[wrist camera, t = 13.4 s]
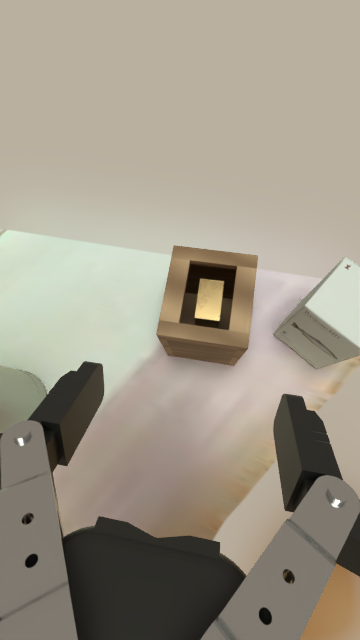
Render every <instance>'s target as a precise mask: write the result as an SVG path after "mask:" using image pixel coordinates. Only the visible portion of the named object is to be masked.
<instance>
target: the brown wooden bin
mask: <svg viewBox="0 0 360 640" xmlns="http://www.w3.org/2000/svg"><path fill="white" fill-rule="evenodd" d="M257 260H258V256H257V255H249V254H240V253H232V252H224V251H215V250H207V249H199V248H190V247H182V246H174V248H173V252H172V257H171V262H170V268H169V273H168V278H167V283H166V288H165V293H164V298H163V303H162V308H161V313H160V318H159V324H158V329H157V334H156V335H157V336H158V338H159V340H160V342H161V343H162V345H163V347H164V349H165V350H166V352H167V354H168V355H170V356H177V357H183V358H189V359H195V360H202V361H208V362H214V363H220V364H227V365H233V366H234V365H235V364H236V362H237V361H238V360H239V359H240V357H241V356H242V355H243V354H244V353H245V351H246V350H247V349H248V344H249V334H250V325H251V316H252V307H253V297H254V288H255V279H256V270H257ZM200 279H209V280H218V281H224V286H223V295H222V306H221V314H220V321H219V327H218V329H217V328H210V327H203V326H196V325H195V312H196V304H197V297H198V290H199V283H200Z"/></svg>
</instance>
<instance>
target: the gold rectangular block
mask: <svg viewBox="0 0 360 640" xmlns="http://www.w3.org/2000/svg"><path fill="white" fill-rule="evenodd" d="M223 286H224V281H218V280H209V279H200V283H199V290H198V297H197V304H196V312H195V325H196V326H203V327H210V328H217V329H218V327H219V321H220V314H221V306H222V295H223Z"/></svg>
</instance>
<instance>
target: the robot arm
mask: <svg viewBox="0 0 360 640" xmlns="http://www.w3.org/2000/svg"><path fill="white" fill-rule="evenodd" d="M103 396H104V378H103V366H102V364H100V363H93V362H87V361H85V362H83V364H82V365H81V366H80V368H79V369H78V370H77V371H70V372H68V373H67V374H65V375H64V376H62V377H61V378H60V379H59V381H58V382H57V383H56V384H55V386H54V387H53V388H52V389H51V391H50V392H49V394H47V396H46V391H45V388H44V386H43V384H42V383H41V381H40V380H39V379H38V378H37V377H36V376H35V375H33V374H31V373H29V372H25V371H22V370H16V369H11V368H7V367H3V366H0V640H300V638H301V636H302V633H303V631H304V629H305V627H306V625H307V623H308V621H309V619H310V617H311V615H312V613H313V611H314V609H315V607H316V605H317V603H318V600H319V598H320V596H321V594H322V592H323V590H324V588H325V586H326V584H327V582H328V580H329V578H330V576H331V574H332V571H333V570H334V567H335V565H336V563H337V564H339V565H341V566H342V567H344V568H346V569H347V570H349V571H351V572H353V573H355V574H356V575H358V576H360V500H359V498H358V496H357V494H356V493H355V491H354V490H353V489H352V488H351V487H350V486H349V485H348V484H347V483H346V482H344V481H343V479H342V476H341V473H340V470H339V468H338V464H337V462H336V459H335V456H334V453H333V450H332V447H331V444H330V441H329V438H328V435H327V434H326V433H327V432H326V429H325V426H324V423H323V421H322V420H321V419H320V417H319V416H318V415H317V414H316V412H315V411H310V410H307V409H306V406H305V402H304V399H303V397H302V396H296V395H289V394H283V395H282V398H281V401H280V404H279V407H278V410H277V413H276V416H275V420H274V428H273V432H274V440H275V447H276V454H277V460H278V467H279V474H280V481H281V488H282V495H283V502H284V509H285V511H289V512H294V513H293V514H292V516H291V517H290V519H289V520H288V519H287V520H286V521H285V522H284V524H283V525H282V526H281V528H280V529H279V531H278V532H277V534H276V535H275V536H274V538H273V539H272V541H271V542H270V544H269V545H268V546H267V548H266V549H265V551H264V552H263V554H262V555H261V556H260V558H259V559H258V561H257V562H256V564H255V565H254V567H253V568H252V569H251V571H250V572H249V574H248V575H247V576H246V575H245V574H244V572H243V571H242V570H241V569H240V568H239V567H238V566H237V565H236V564H235V563H234V562H233V561H231V560H230V559H229V558H227V557H226V556H224V555H223V554H221V553H220V542H216V541H212V540H207V539H202V538H198V537H193V536H179V537H167V538H155V537H153V536H151V535H149V534H147V533H146V532H144V531H142V530H140V529H138V528H137V527H135V526H133V525H131V524H129V523H128V522H123V521H119V520H114V519H109V518H105V517H100V516H99V517H98V519H97V522H96V525H95V526H91V527H86V528H82V529H79V530H77V531H74V532H72V533H70V534H68V535H66V536H65V537H64V533H63V528H62V523H61V518H60V512H59V506H58V501H57V495H56V489H55V484H54V478H53V471H54V469H55V468H56V466H57V464H59V465H64V466H67V465H68V463H69V461H70V460H71V458H72V456H73V454H74V452H75V450H76V448H77V447H78V445H79V443H80V441H81V439H82V437H83V436H84V434H85V432H86V430H87V428H88V426H89V425H90V423H91V421H92V419H93V417H94V415H95V413H96V412H97V410H98V408H99V406H100V404H101V402H102V400H103Z"/></svg>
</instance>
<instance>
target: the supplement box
mask: <svg viewBox="0 0 360 640" xmlns="http://www.w3.org/2000/svg"><path fill="white" fill-rule="evenodd" d="M274 335H275V336H276V337H278V338H279V339H280V340H282V341H283V342H284V343H286V344H287V345H288V346H289V347H291V348H292V349H293V350H294V351H296V352H297V353H298V354H299V355H300V356H302V357H303V358H304V359H305V360H306V361H308V362H309V363H310V364H311V365H312V366H313V367H314V368H316V369H319V368H322V367H325V366H328V365H331V364H334V363H337V362H340V361H344V360H347V359H350V358H353V357H356V356H359V355H360V266H359V265H358V264H356V263H355V262H353V261H352V260H350V259H349V258H348V257H344V258H343V259H342V260H341V261H340V262H339V263H338V264H337V265H336V266H335V267H334V268H333V269H332V270H331V272H329V273H328V274H327V276H326V277H325V278H324V279H323V280H322V281H321V282H320V283H319V284H318V285H317V286H316V287H315V288H314V289H313V290H312V291H311V292H310V293H309V294H308V295H307V296H306V297H305V298H304V299H303V300H302V301H301V302H300V303H299V304H298V306H297V307H296V308H295V309H294V310H293V311H292V312H291V313H290V315H289V316H288V317H287V318H286V319H285V320H284V322H283V323H282V324H281V325H280V326H279V328H278V329H277V330H276V331H275V332H274Z"/></svg>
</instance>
